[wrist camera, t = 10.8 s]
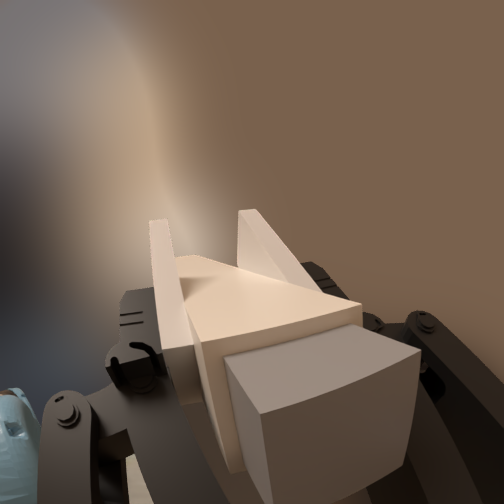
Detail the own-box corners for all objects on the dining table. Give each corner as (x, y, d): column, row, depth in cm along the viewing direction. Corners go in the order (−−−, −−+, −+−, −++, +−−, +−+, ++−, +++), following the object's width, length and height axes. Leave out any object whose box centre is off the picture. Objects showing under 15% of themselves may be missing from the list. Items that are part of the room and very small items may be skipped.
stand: (204, 551, 25) (132, 393, 23) (189, 496, 38) (139, 344, 36) (292, 529, 29) (276, 365, 27) (262, 480, 43) (238, 328, 41)
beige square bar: (259, 538, 3) (228, 398, 3) (170, 287, 29) (166, 258, 29) (411, 467, 4) (434, 323, 4) (199, 283, 30) (195, 254, 30)
